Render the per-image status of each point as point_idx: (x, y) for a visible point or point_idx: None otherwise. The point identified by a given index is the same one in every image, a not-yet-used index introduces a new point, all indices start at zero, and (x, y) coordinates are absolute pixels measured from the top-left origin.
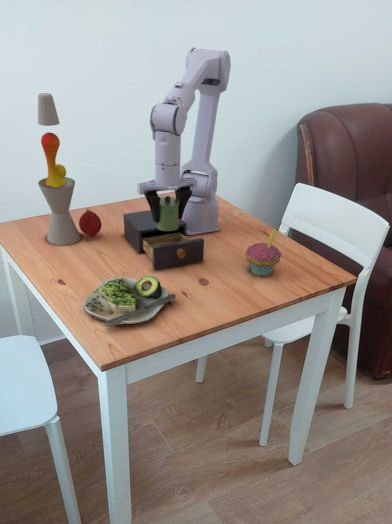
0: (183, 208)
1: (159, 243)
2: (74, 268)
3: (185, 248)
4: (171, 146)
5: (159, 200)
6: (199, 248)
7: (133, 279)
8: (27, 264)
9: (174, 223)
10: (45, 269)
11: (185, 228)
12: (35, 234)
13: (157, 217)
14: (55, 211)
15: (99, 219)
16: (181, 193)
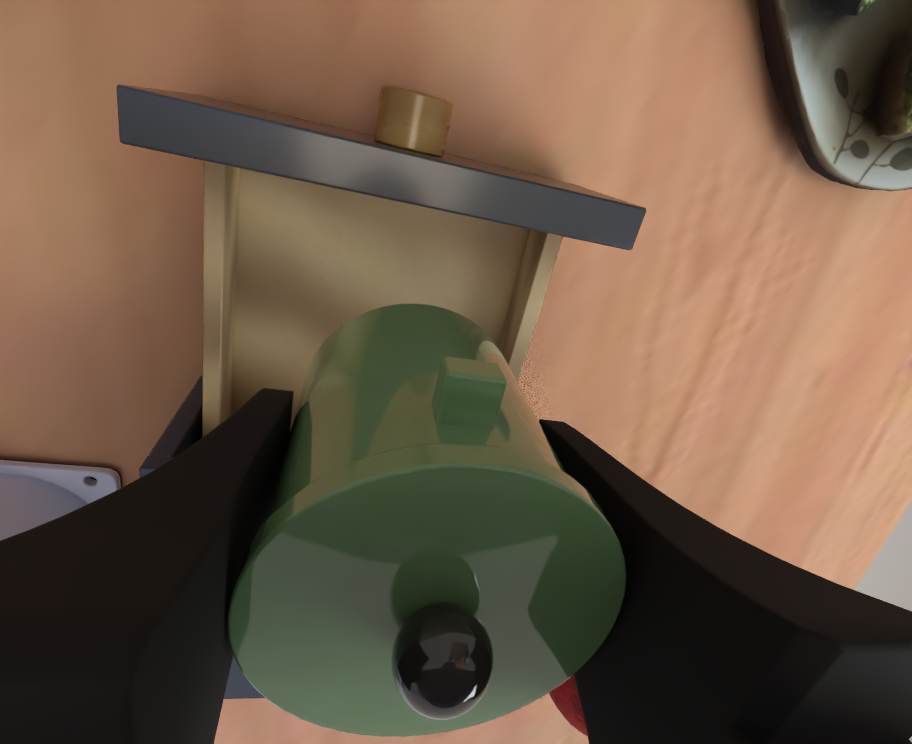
0: (218, 445)
1: None
2: (811, 419)
3: (353, 137)
4: None
5: (754, 596)
6: (205, 101)
7: (807, 99)
8: (886, 516)
9: (405, 331)
10: (882, 460)
11: (163, 444)
12: None
13: (586, 444)
14: None
15: (574, 683)
16: (169, 715)
